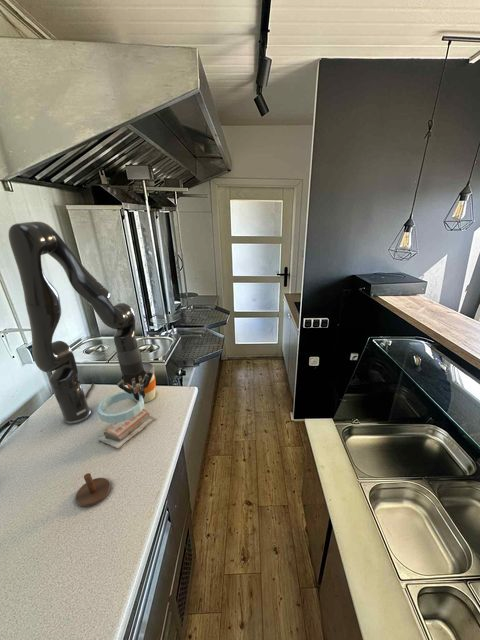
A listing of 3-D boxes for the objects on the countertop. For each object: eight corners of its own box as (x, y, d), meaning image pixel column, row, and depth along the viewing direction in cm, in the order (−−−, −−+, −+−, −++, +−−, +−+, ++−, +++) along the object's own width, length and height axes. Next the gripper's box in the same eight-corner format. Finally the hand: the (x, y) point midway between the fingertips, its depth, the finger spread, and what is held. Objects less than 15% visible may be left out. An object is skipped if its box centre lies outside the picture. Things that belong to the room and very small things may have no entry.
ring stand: (73, 492, 87) (65, 475, 83) (105, 475, 92) (98, 458, 89) (81, 513, 81) (73, 495, 77) (114, 493, 86) (108, 475, 83)
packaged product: (134, 403, 118) (152, 409, 114) (136, 413, 120) (154, 419, 117) (95, 431, 104) (114, 439, 100) (99, 441, 106) (118, 449, 102)
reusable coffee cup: (127, 395, 132) (119, 367, 126) (154, 386, 139) (148, 359, 132) (134, 408, 123) (126, 379, 116) (163, 398, 130) (157, 369, 123)
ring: (94, 409, 107) (92, 402, 106) (134, 393, 116) (133, 386, 115) (107, 429, 97) (105, 421, 96) (150, 409, 106) (148, 402, 105)
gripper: (144, 350, 109) (152, 388, 117) (106, 362, 101) (118, 402, 109) (152, 356, 104) (161, 395, 112) (114, 369, 96) (126, 411, 104)
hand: (140, 398), depth 110 cm, fingers closed on ring, 1 cm apart
